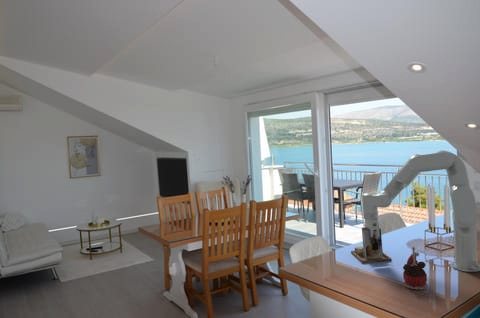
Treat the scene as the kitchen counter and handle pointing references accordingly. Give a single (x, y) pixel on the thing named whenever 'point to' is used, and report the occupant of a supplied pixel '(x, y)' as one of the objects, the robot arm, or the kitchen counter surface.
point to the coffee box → (368, 245)
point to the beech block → (359, 251)
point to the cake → (414, 272)
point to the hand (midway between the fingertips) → (372, 247)
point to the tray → (364, 260)
